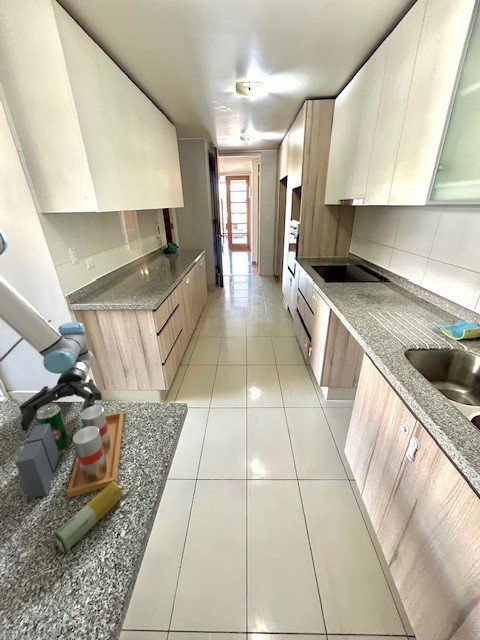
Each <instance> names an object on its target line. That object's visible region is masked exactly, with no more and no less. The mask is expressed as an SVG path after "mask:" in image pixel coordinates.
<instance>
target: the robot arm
mask: <svg viewBox="0 0 480 640" xmlns="http://www.w3.org/2000/svg"><path fill="white" fill-rule="evenodd" d="M8 243H9V242H8V237H7V236H6V233H5V232H4V230H3V229H2V228H1V227H0V256H1V255H3V253H5V252H6V251H7V249H8V245H9V244H8ZM0 320H2V322H4V323H5V324H6V325H7V326H8V327H9V328H11V330H13V331H14V332H15V333H16V334H17V335H19V337H21V338H19V339H18V340H17V341H16V342H15V343H14V344H13V345H12V346H11V347H10V349H8V350H7V351H6V353H4V355H3V356H1V358H0V363H1V362H2V361H3V360H4V359H6V357H7V356H8V355H9V354H10V353H12V351H13V350H14V349H15V347H17V346H18V345H19V344H20V343H21V342H23V340H24V341H25V342H26V343H27V344H29V345H30V346H31V347H32V348H33V349H34V350H35V351H36V352H38V354H39V355H40V356H42V357H43V360H42V364H43V367H44V369H45V370H46V371H48V372H49V373H52V374H56V375H57V374H60V376H59V377H58V379H57V382H56V384H55V385H54V386H53V387H49V386H48V385H46V386H43V387H42V388H41V390H39V391H38V392H37V393H36V394H34V395H32V396H31V397H30V398H28V399H27V400H26V401H24V402H23V403H21V405H19V406H18V408H19V411H20V414H21V421H20V426H21V429H22V431H23V432H27V431H28V429H29V428H30V426H31V424H32V423H33V421H34V419H35V418H36V415H37V411H38V409H39V408H41V407H42V406H44V405H47V404H52V402H57V401H59V400H60V399H62V398H66V397H73V396H76V397H78V398H82V399H83V400H84V401H83V405H82V408H81V413H82V412H83V411H84V410H85V409H87V408H89V407H91V406H95V402H96V401H102V400H103V396H102V392H101V390H100V389H99V388H98V387H97V385H95V382H94V379H93V378H91V379H88V381H87V377H88V375H89V371H90V369H91V367H92V364H93V362H94V361H93V359H94V355H93V353H92V352H91V351H90V349H89V345H88V340H87V335H86V330H85V327H84V324H83V323H82V322H79V321H70V322H69V321H68V322H66V323H63V324H61V325H59V326H58V329H56V328H55V327H54V326H53V325H51V322H52V319H49V320H46V319H45V317H44V316H42V314H40V313H39V311H37V310H36V308H35V307H34V306H33V305H32V304H30V302H28V301H27V299H25V298H24V297H23V295H22V294H20V293H19V292H18V291H17V290H16V288H15V287H13V286H12V285H11V284H10V283H9V282H8V281H7V280H6V279H5V277H3V276H2V275H1V274H0ZM85 388H87V389H88V390H87V389H85Z"/></svg>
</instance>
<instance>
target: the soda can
mask: <svg viewBox="0 0 480 640" xmlns="http://www.w3.org/2000/svg"><path fill="white" fill-rule="evenodd" d="M35 418H36V420H37V421H36V422H37V424H38V425H43V424H48V423H50V426H51V430H52V433H53V436H54V439H55V442H56V446H57V449H58V451H60V450H61V449H62V450H63V448H65V447H66V446H67V445H68V444H69V442H70V437H69V434H68V430H67V426H66V423H65V419H64V415H63V413H62V410H61V407H60V406H59V405H58V404H57V403H52V402H51V403H49V404H47V405H44V406H42V407H41V408H39V409H38V411H36V415H35Z"/></svg>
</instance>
